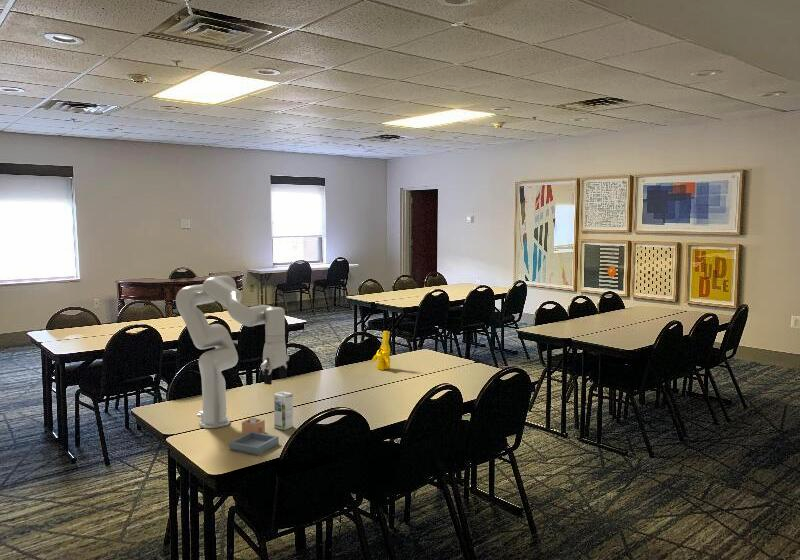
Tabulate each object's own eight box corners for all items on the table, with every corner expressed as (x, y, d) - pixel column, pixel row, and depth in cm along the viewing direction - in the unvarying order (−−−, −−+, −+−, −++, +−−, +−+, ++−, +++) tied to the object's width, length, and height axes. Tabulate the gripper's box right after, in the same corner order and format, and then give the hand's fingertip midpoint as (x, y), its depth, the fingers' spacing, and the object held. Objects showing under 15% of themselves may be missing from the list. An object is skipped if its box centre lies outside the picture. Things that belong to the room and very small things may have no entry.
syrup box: (273, 427, 253) (273, 393, 252) (284, 423, 258) (283, 390, 257) (283, 430, 250) (283, 396, 249) (293, 426, 255) (293, 392, 254)
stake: (249, 433, 247) (248, 419, 246) (253, 431, 249) (252, 417, 248) (254, 434, 246) (253, 420, 245) (257, 432, 248) (257, 418, 247)
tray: (229, 450, 229) (229, 442, 229) (251, 438, 241) (251, 431, 241) (257, 455, 224) (257, 447, 223) (278, 444, 235) (278, 436, 235)
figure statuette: (368, 367, 357) (368, 330, 355) (379, 365, 362) (379, 328, 360) (387, 373, 343) (387, 334, 341) (397, 370, 348) (398, 332, 346)
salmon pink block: (242, 434, 246) (241, 422, 245) (252, 429, 252) (252, 417, 251) (258, 437, 242) (258, 425, 242) (268, 432, 248) (268, 420, 248)
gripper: (280, 334, 249) (280, 374, 251) (253, 341, 233) (254, 385, 235) (295, 335, 246) (295, 377, 248) (269, 343, 230) (269, 387, 232)
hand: (275, 381), depth 241 cm, fingers open, 9 cm apart
